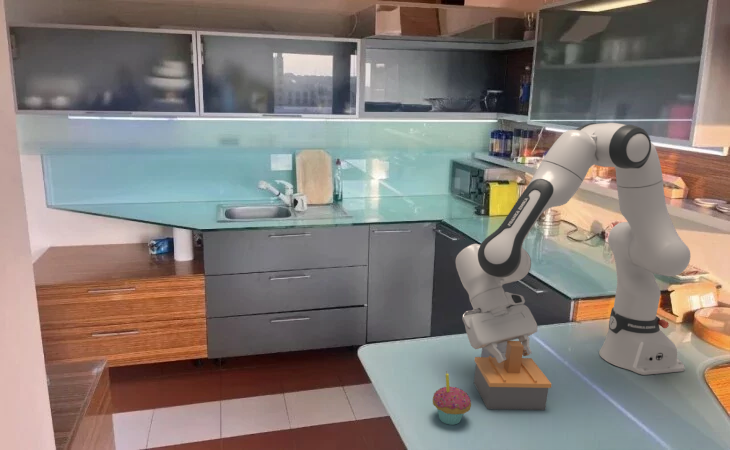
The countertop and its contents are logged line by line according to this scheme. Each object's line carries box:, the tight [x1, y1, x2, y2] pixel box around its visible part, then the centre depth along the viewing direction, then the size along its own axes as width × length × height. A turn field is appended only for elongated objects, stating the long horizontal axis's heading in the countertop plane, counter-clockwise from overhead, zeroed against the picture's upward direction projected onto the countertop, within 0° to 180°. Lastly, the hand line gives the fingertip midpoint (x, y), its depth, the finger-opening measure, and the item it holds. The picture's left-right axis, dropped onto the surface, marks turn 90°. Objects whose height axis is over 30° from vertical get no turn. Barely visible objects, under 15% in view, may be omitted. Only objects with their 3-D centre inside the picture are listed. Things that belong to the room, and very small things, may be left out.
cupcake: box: [432, 370, 472, 426], centre depth 127 cm, size 9×8×12 cm
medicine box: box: [480, 342, 507, 357], centre depth 160 cm, size 8×4×9 cm, turn 141°
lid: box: [474, 340, 553, 389], centre depth 138 cm, size 15×13×10 cm
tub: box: [473, 363, 549, 411], centre depth 139 cm, size 14×12×6 cm
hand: (515, 358), depth 137 cm, fingers open, 7 cm apart
